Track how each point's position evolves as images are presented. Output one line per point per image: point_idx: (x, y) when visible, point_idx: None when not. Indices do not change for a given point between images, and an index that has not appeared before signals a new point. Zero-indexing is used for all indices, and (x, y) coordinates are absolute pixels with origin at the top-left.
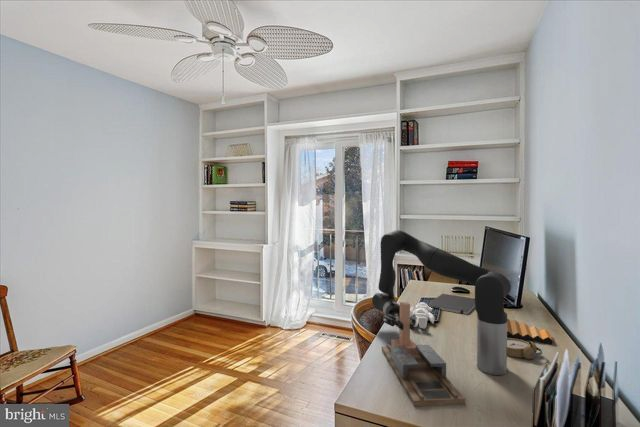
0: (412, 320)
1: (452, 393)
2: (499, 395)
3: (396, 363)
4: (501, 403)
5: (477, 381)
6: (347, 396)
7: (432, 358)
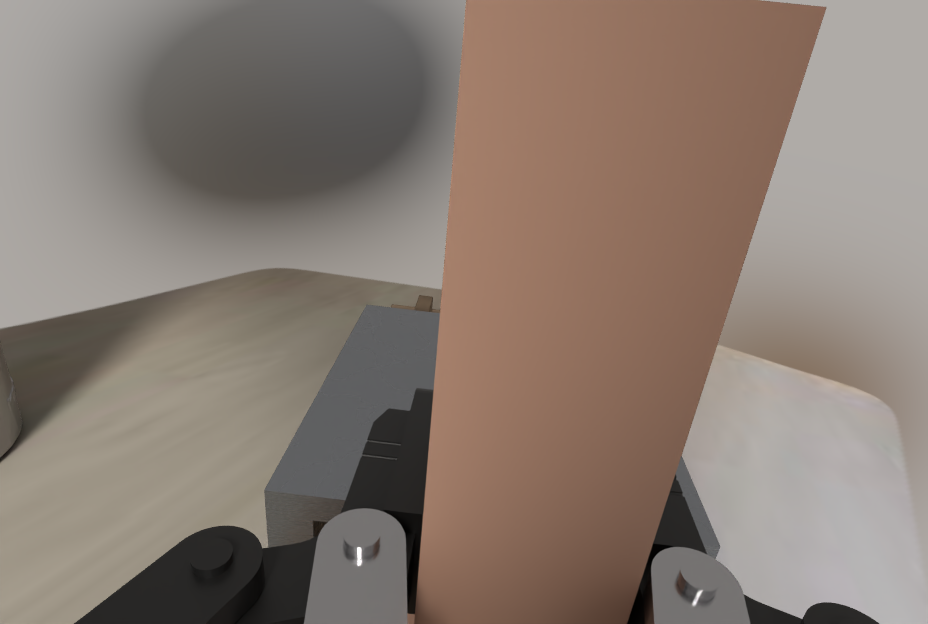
0: (263, 565)
1: (429, 308)
2: (209, 323)
3: None
4: (256, 304)
5: (181, 389)
6: (880, 423)
7: (414, 341)
